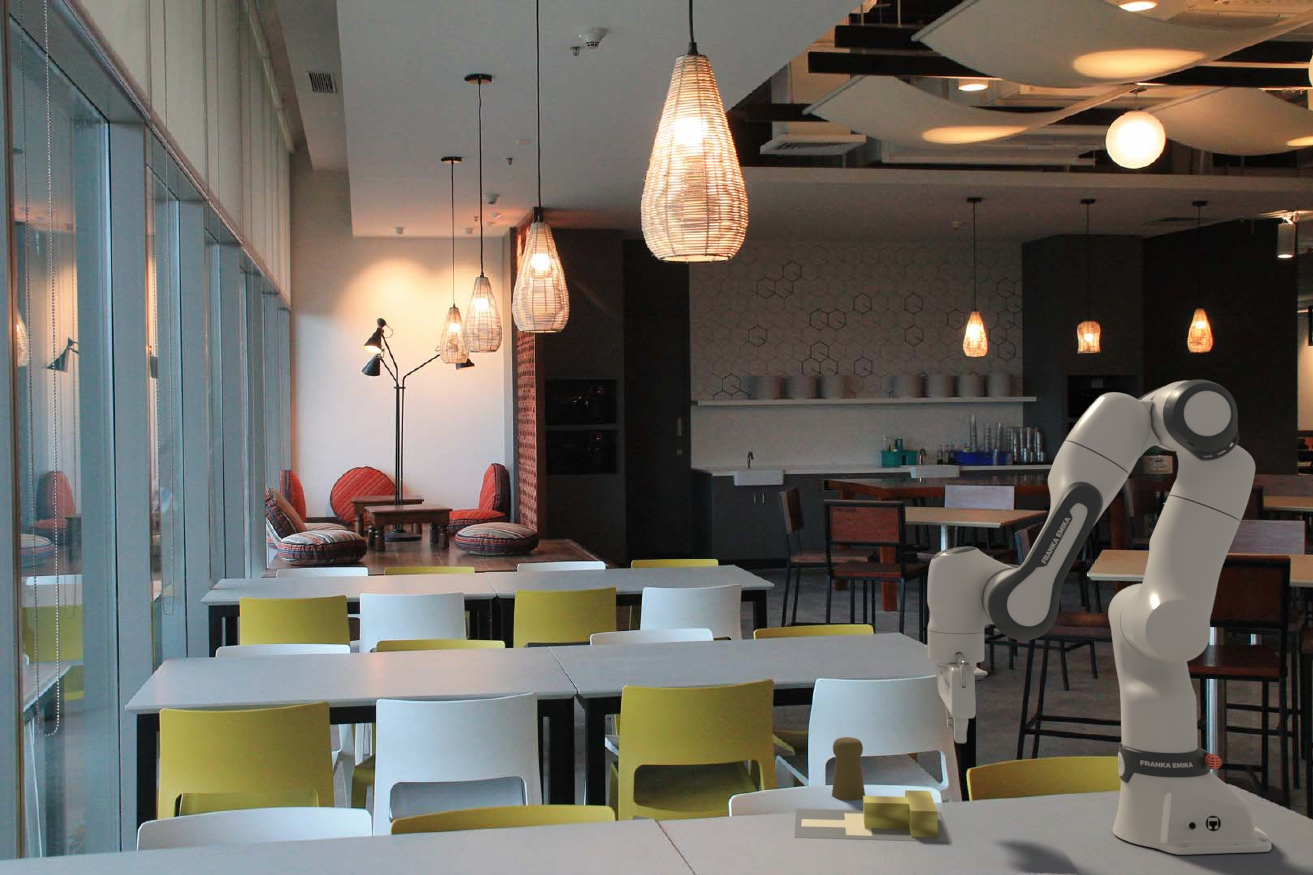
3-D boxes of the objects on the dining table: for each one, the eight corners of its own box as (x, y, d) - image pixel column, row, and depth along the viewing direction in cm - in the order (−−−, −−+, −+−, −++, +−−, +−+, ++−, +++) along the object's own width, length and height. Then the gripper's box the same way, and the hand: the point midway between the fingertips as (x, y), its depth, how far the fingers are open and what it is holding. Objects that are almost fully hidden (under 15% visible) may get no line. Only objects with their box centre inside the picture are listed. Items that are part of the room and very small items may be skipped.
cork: (864, 796, 213) (863, 734, 213) (867, 806, 207) (866, 742, 207) (830, 796, 214) (829, 734, 214) (831, 805, 208) (831, 741, 208)
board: (941, 818, 199) (941, 812, 199) (952, 848, 184) (952, 841, 184) (796, 814, 203) (796, 808, 203) (794, 843, 187) (794, 837, 187)
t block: (930, 815, 198) (929, 790, 198) (937, 837, 186) (937, 811, 186) (862, 813, 199) (862, 789, 199) (865, 835, 187) (865, 809, 187)
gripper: (985, 659, 181) (986, 751, 181) (968, 639, 202) (968, 722, 201) (942, 658, 182) (943, 749, 182) (929, 639, 202) (930, 721, 202)
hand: (956, 735), depth 192 cm, fingers open, 8 cm apart
